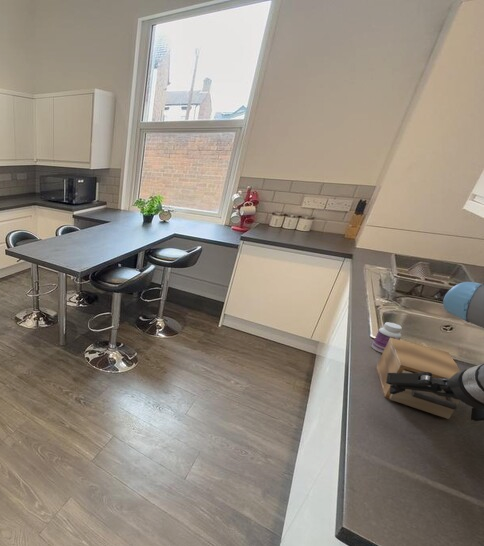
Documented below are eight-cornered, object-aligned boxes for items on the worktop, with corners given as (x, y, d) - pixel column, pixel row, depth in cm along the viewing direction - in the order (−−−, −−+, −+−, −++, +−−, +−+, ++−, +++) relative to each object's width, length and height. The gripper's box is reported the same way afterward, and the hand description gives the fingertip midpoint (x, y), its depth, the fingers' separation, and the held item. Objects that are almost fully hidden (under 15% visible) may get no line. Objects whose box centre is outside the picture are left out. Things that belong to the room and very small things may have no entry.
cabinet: (448, 418, 77) (469, 384, 73) (384, 397, 83) (400, 364, 79) (430, 383, 89) (448, 352, 85) (375, 367, 95) (389, 337, 91)
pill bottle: (392, 357, 100) (404, 331, 96) (370, 349, 104) (381, 324, 100) (393, 350, 103) (405, 325, 100) (372, 343, 107) (383, 319, 103)
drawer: (455, 432, 72) (474, 402, 69) (393, 410, 78) (407, 382, 75) (432, 385, 87) (447, 359, 83) (381, 370, 92) (393, 345, 89)
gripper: (394, 378, 63) (360, 393, 80) (608, 443, 49) (512, 444, 66) (400, 344, 65) (365, 365, 82) (607, 397, 51) (513, 410, 68)
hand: (430, 400), depth 74 cm, fingers open, 13 cm apart
